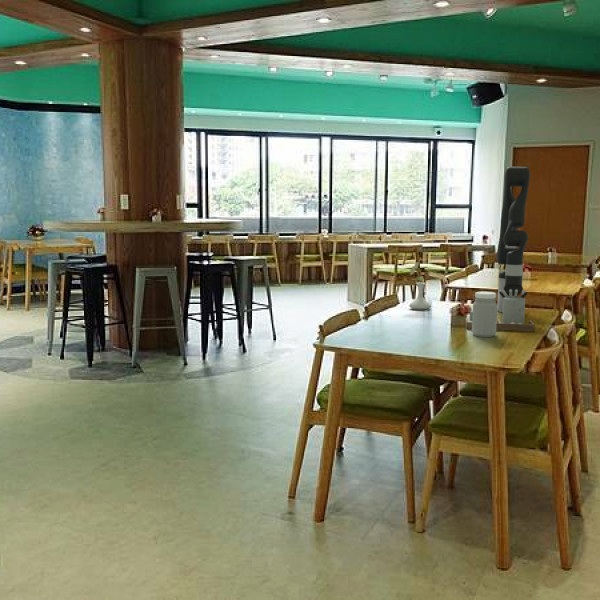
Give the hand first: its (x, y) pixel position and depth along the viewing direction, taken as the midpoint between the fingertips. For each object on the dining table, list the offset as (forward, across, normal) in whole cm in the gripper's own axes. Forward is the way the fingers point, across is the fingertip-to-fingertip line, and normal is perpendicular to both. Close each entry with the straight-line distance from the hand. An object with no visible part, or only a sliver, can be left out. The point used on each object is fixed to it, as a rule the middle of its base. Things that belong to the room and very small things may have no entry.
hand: (512, 311), depth 300 cm
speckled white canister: (+5, 0, +6) cm, 8 cm away
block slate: (+5, +16, -5) cm, 18 cm away
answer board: (+5, +7, +15) cm, 17 cm away
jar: (+6, +14, +33) cm, 36 cm away
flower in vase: (+5, +43, -29) cm, 52 cm away
